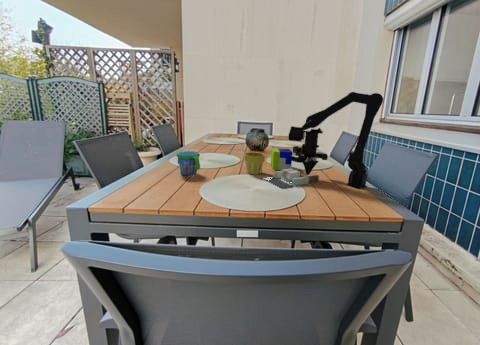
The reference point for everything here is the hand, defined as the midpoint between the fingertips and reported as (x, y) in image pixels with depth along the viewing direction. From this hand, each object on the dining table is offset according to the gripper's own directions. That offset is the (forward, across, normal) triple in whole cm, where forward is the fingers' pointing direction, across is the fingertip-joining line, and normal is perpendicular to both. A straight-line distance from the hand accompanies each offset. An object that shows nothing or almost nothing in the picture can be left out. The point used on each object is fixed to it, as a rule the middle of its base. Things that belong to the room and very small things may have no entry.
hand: (307, 174), depth 119 cm
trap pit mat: (+2, +18, 0) cm, 18 cm away
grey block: (+2, +11, 0) cm, 11 cm away
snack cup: (+2, +50, -29) cm, 58 cm away
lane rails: (+2, +7, 0) cm, 7 cm away
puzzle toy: (+2, -1, -22) cm, 22 cm away
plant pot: (+2, +19, -18) cm, 27 cm away
